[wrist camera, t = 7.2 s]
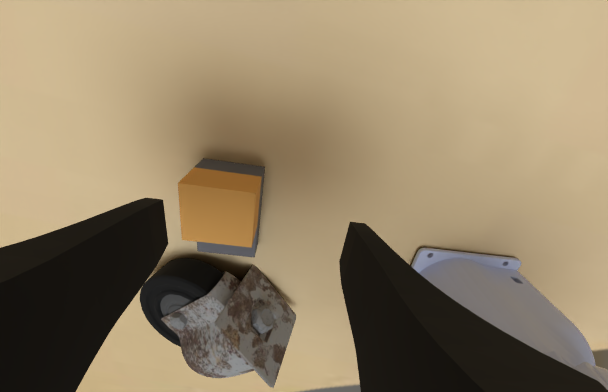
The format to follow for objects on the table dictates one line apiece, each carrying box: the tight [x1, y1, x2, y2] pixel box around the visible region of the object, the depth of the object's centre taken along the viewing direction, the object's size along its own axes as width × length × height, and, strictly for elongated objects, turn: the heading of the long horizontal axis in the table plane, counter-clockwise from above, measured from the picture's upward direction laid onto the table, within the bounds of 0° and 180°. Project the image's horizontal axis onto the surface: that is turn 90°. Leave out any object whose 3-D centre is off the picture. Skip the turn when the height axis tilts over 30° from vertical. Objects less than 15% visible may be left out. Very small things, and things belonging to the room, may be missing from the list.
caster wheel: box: [140, 258, 296, 388], centre depth 22 cm, size 7×11×10 cm
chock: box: [178, 158, 265, 257], centre depth 18 cm, size 4×7×4 cm, turn 171°
